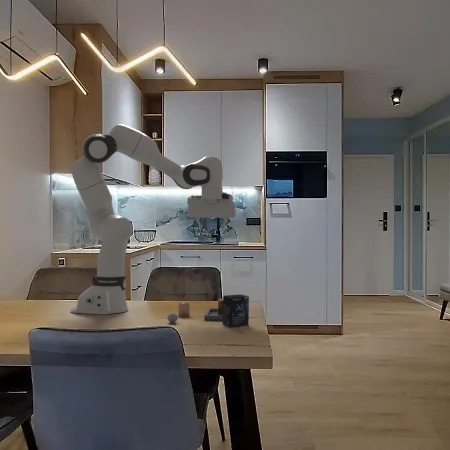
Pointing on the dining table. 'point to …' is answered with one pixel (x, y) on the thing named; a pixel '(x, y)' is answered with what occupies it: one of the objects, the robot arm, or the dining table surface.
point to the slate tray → (213, 315)
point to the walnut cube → (220, 307)
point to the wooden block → (183, 309)
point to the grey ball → (172, 317)
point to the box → (235, 310)
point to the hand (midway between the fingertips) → (211, 228)
